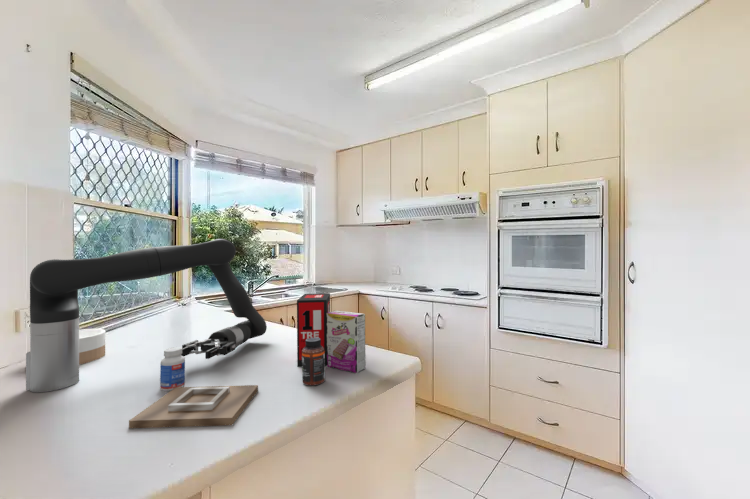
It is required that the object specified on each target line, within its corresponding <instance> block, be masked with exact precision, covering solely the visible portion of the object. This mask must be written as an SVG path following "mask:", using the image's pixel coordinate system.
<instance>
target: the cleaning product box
mask: <svg viewBox="0 0 750 499" xmlns="http://www.w3.org/2000/svg"><path fill="white" fill-rule="evenodd" d="M328 312H331V293H330V292H328V293H321V292H320V293H304V294H303V295H301V297H299V298H298V299H297V300H296V336H297V337H296V338H297V340H296V344H297V345H296V346H297V349H296V350H297V351H296V354H297V357H296V358H297V359H296V362H297V365H296V366H297V367H301V368H302V350H303V348H304V347H305V346H306V345H305V343H306V342H305V341H306V339H308V338H320V339H321V346H323V347H324V351H325V367H327V313H328Z"/></svg>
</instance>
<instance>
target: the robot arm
mask: <svg viewBox="0 0 750 499" xmlns="http://www.w3.org/2000/svg"><path fill="white" fill-rule="evenodd" d="M236 253H237V250H236V247H235V245H234V243H233V242H232V241H230V240H228V239H225V238H216V239H212V240H209V241H205V242H201V243H195V244H190V245H189V244H188V245H187V244H186V245H184V244H183V245H165V246H164V245H163V246H154V247H153V246H152V247H142V248H137V249H132V250H126V251H122V252H119V253H113V254H110V255H105V256H103V257H102V256H100V257H94V258H79V259H78V258H76V259H73V258H72V259H58V258H57V259H55V258H54V259H47V260H44V261H42V262H40V263H38V264H36V265H35V266H34V268H32V270H31V271H30V274H29V275H30V276H29V322H30V323H29V324H30V325H29V336H30V337H29V338H30V340H29V343H30V344H29V351H27V352H26V353H25V391H30V392H32V393H45V392H51V391H52V392H53V391H56V390H60V389H64V388H67V387H70V386H73V385H75V384H77V383H78V382H79V381H80V365H79V330H80V304H79V290H82V289H85V288H90V287H93V286H94V287H95V286H98V285H103V284H109V283H118V282H120V283H121V282H128V281H129V282H131V281H135V280H137V281H138V280H144V279H149V278H155V277H156V278H157V277H160V276H166V275H169V274H174V273H179V272H181V271H185V270H188V269H192V268H196V267H200V266H203V267H204V266H207V267H208V268H209V269H210V271H211V272H212V275H213V276H214V277H215V279H216V280H217V282H218V283H219V286H220V288H221V289H222V291H223V293H224V295H225V297H226V300H227V301H228V304H229V305H230V308H231V310H232V312H233V314H234V317H236V318H238V319H240V318H245V319H246V320H244V321H241V322H238V323H236V324H234V325H232V326H228V327H224V328H222V329H219V330H217V331H214V332H212V333H211V334H210V335H209V337H208V339H204V340H200V341H199V340H197V339H195V340H192V341H190V342H187V343H185V344H184V343H183V344H182V345H181V348H182V354H181V356H184V357H186V356H188V355H192V354H195V355H200V354H204V353H205V360H209V359H212V358H214V357H215V356H217V357H219V356H227V355H228V354H230V353H232V352H234V351H235V350H236V348H237V347H239V346H241V345H242V344H244V343H246V342H247V341H248V340H250V339H253V338H257V337H260V336H263V335H265V333H266V331H267V329H268V328H267V322H266V320H265V318H264V317H263V316H262V315H261V314H260V313H259V311H258V310H257V309H256V308H255V306H254V305H253V303H252V301H251V299H250V297H249V294H248V292H247V290H246V289H245V287H244V286H243V285H242V283H241V282H240V281H239V279H238V278H237V277H236V275H235V274H234V272H233V270H232V268H231V265H230V262H231V261H233V259H234V258H235V256H236ZM199 348H200V350H199Z"/></svg>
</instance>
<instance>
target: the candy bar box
mask: <svg viewBox="0 0 750 499" xmlns="http://www.w3.org/2000/svg"><path fill="white" fill-rule="evenodd" d="M326 367H327V368H332V369H337V370H340V371H345V372H349V373H355V374H359V373H360V372H362V371H364V370H365V369H366V314H365V313H361V312H351V311H345V310H336V309H335V310H333V311H331V310H330V312H328V313H327V366H326Z"/></svg>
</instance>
